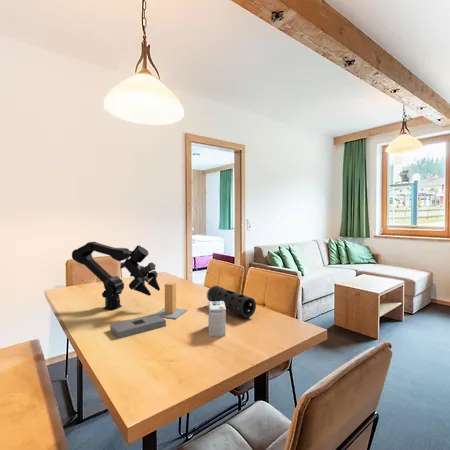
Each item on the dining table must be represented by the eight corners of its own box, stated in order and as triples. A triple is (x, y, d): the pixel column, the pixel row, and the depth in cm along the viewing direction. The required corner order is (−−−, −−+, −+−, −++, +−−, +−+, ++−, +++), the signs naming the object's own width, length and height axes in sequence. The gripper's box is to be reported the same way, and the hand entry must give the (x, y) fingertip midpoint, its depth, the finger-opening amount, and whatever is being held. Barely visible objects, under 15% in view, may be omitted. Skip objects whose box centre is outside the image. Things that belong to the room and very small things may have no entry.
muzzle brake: (241, 322, 128) (241, 299, 127) (205, 306, 149) (205, 286, 149) (256, 317, 133) (256, 295, 133) (219, 302, 155) (219, 283, 155)
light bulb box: (208, 325, 123) (208, 300, 123) (224, 325, 124) (224, 300, 123) (209, 336, 112) (209, 309, 112) (226, 335, 113) (226, 308, 112)
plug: (164, 313, 137) (164, 284, 136) (168, 310, 140) (168, 282, 140) (172, 314, 136) (172, 284, 135) (176, 311, 139) (175, 282, 139)
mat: (152, 316, 134) (152, 315, 134) (165, 308, 146) (165, 307, 146) (175, 319, 130) (175, 318, 130) (187, 310, 142) (187, 309, 142)
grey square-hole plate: (110, 330, 118) (110, 324, 118) (155, 319, 130) (155, 313, 130) (118, 338, 110) (118, 332, 110) (165, 325, 123) (165, 320, 123)
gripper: (134, 261, 131) (156, 286, 129) (154, 255, 149) (173, 277, 147) (119, 277, 133) (140, 302, 131) (140, 269, 151) (159, 291, 149)
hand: (155, 292), depth 140 cm, fingers open, 9 cm apart
